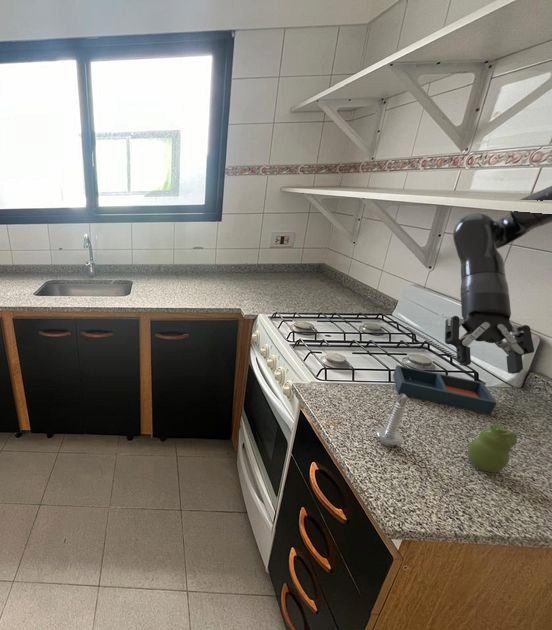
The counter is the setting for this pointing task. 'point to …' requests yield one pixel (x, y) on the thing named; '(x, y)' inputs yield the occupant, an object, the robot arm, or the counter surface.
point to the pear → (492, 448)
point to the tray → (444, 389)
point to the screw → (393, 425)
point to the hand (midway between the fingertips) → (489, 368)
